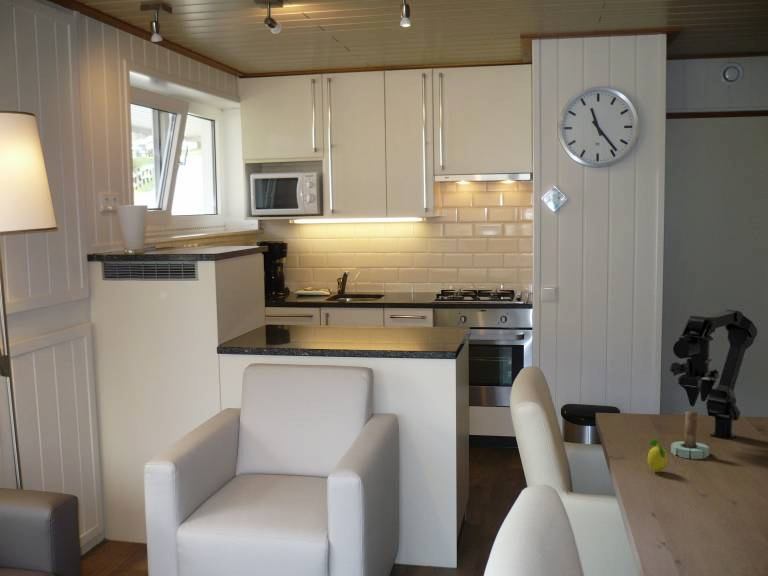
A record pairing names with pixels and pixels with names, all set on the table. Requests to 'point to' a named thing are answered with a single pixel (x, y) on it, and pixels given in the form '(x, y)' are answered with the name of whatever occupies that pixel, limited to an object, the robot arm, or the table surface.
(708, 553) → the table surface
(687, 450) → the ring
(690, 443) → the dowel
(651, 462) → the lemon
